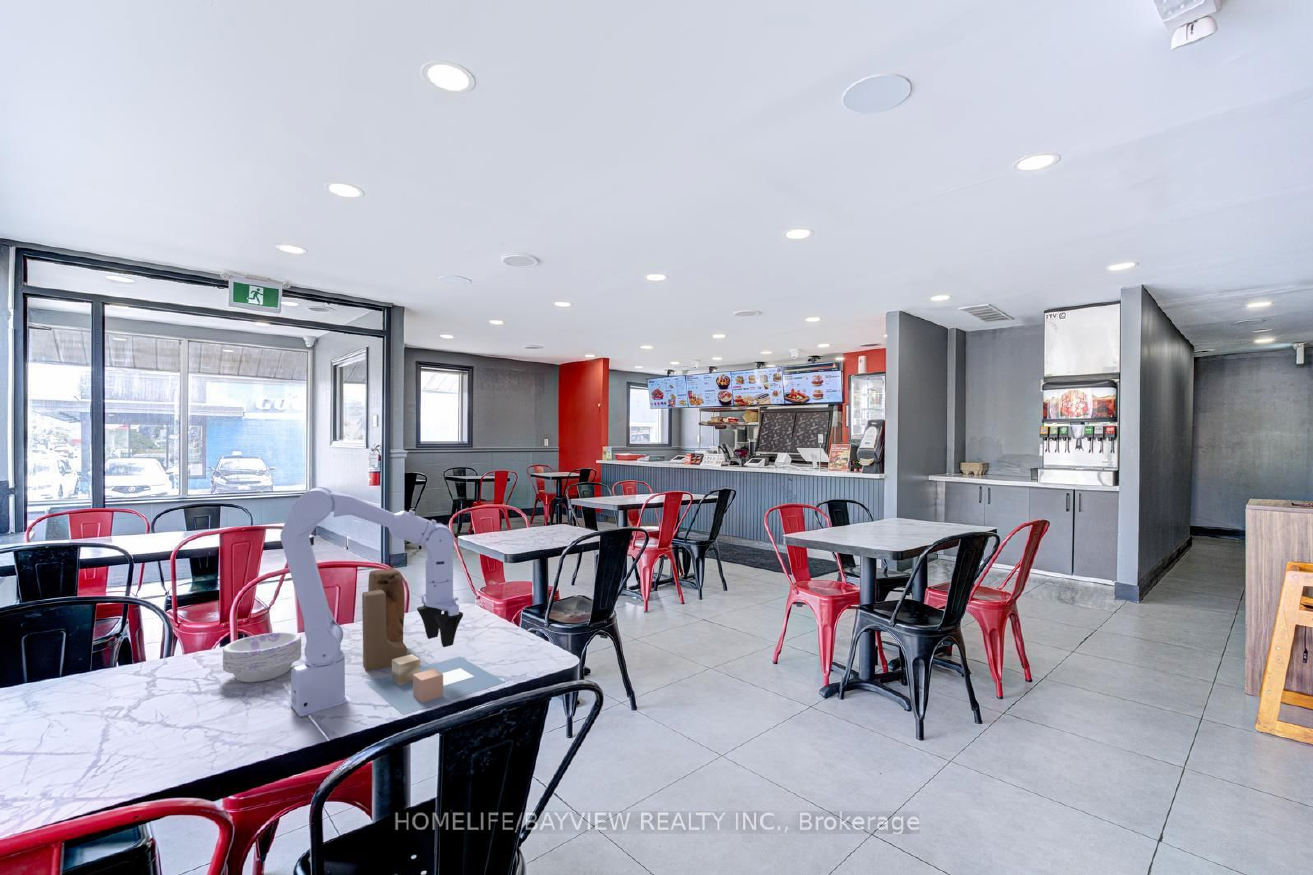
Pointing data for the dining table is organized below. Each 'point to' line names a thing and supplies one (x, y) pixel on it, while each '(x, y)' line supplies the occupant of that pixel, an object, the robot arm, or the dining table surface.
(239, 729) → the dining table surface
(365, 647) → the wooden block
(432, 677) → the terracotta block
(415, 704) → the board
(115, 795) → the dining table surface
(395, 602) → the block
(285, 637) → the paper bowls
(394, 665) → the maple block
